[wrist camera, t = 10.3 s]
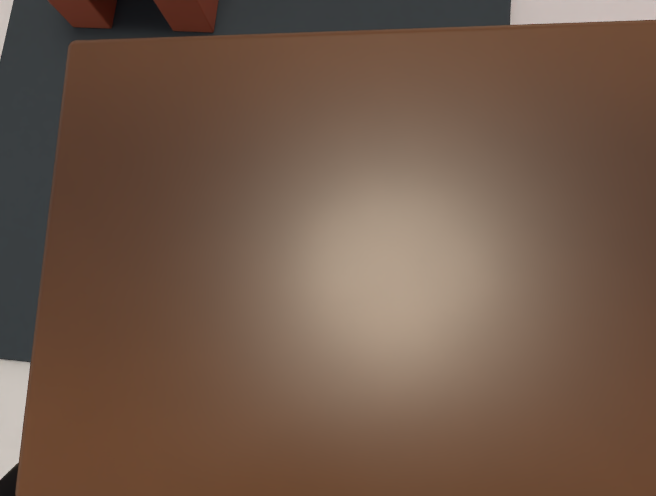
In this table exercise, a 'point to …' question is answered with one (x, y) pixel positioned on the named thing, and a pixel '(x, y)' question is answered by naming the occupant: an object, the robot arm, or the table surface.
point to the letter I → (351, 266)
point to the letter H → (174, 3)
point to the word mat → (129, 22)
